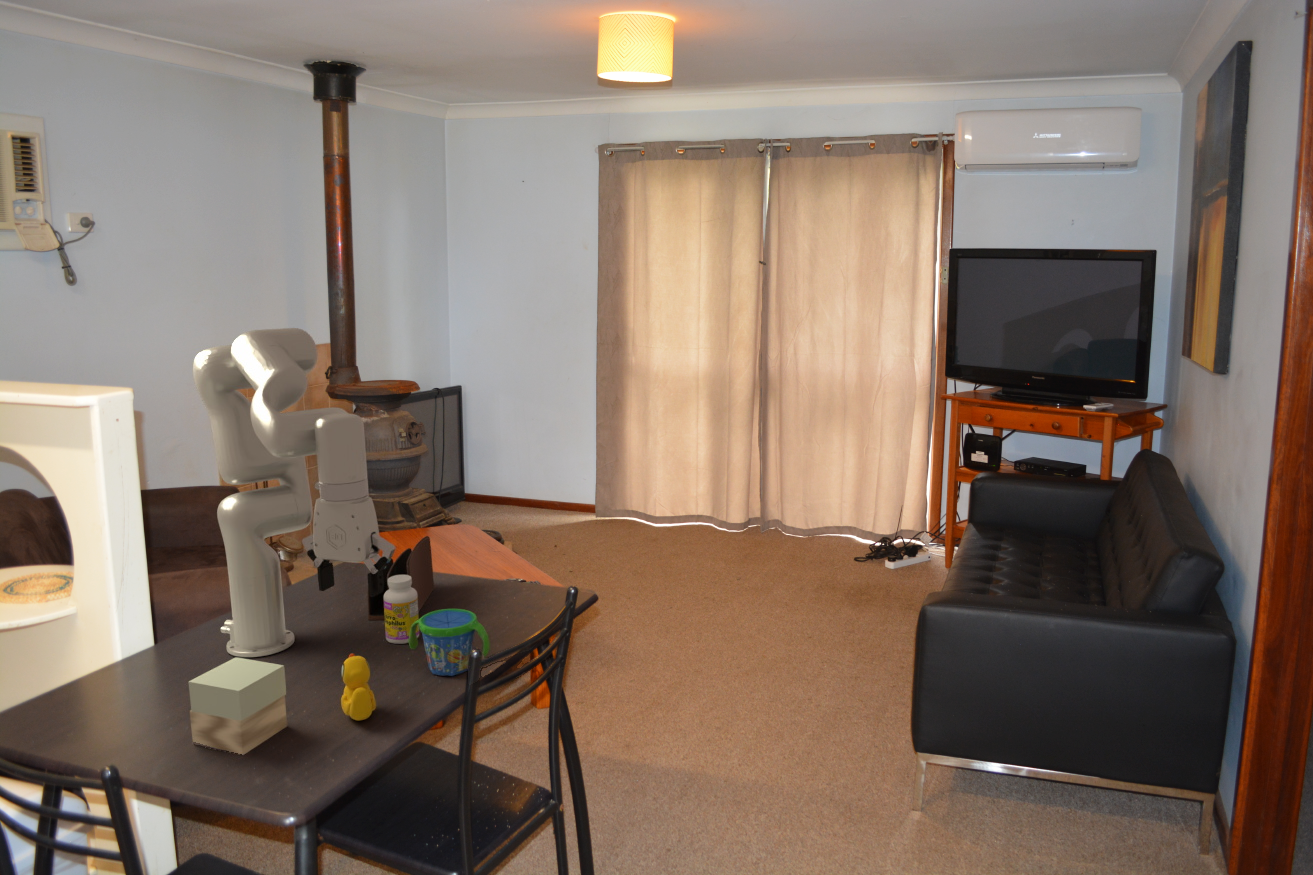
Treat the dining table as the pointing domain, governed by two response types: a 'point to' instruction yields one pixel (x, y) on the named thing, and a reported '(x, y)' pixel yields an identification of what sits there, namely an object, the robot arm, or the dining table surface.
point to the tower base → (239, 728)
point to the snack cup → (448, 639)
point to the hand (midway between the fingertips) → (351, 591)
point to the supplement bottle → (400, 609)
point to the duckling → (357, 688)
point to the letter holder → (410, 564)
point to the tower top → (237, 688)
